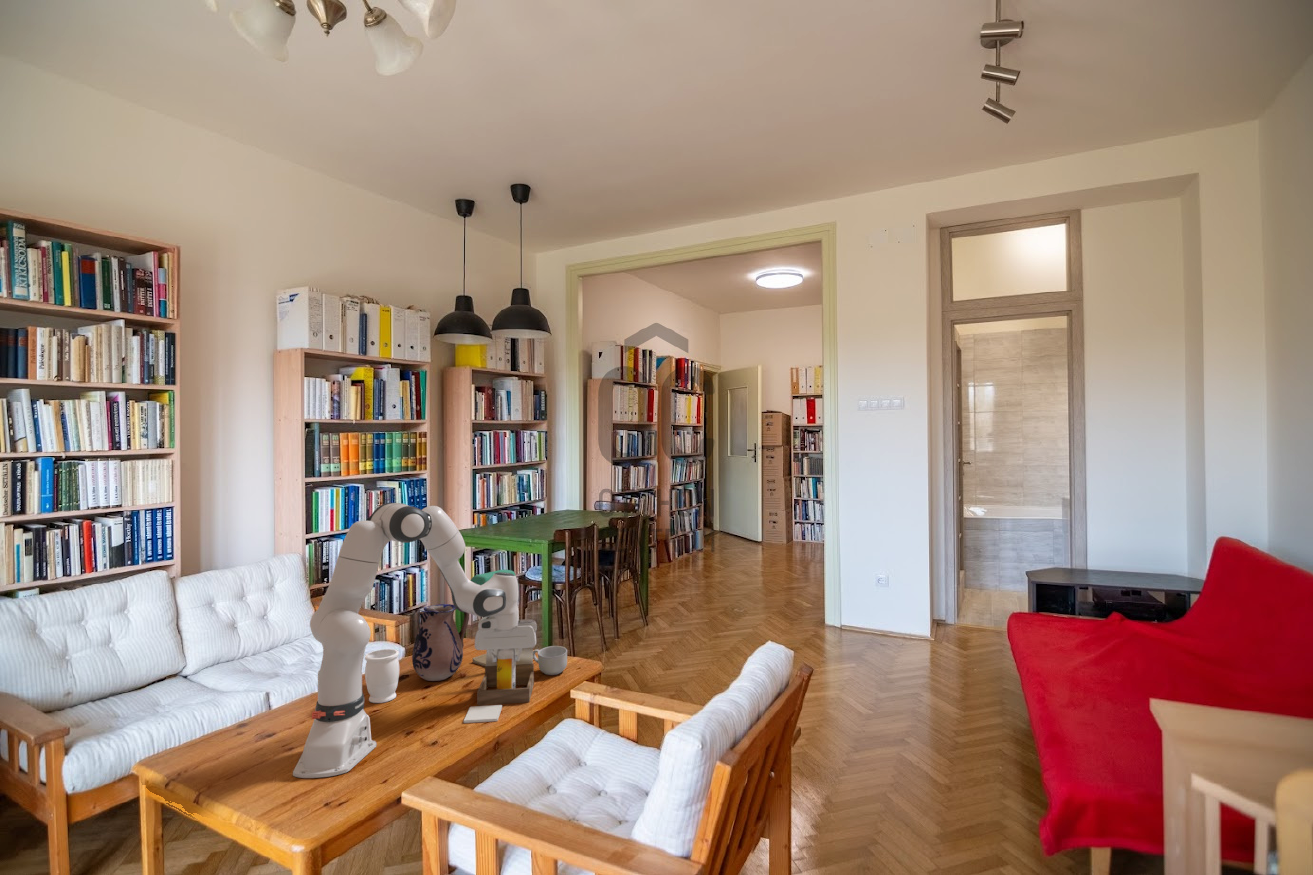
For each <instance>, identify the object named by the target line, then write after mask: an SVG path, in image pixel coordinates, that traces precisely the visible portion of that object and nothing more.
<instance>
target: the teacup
mask: <svg viewBox="0 0 1313 875" xmlns="http://www.w3.org/2000/svg"><path fill="white" fill-rule="evenodd" d="M536 654H537V656H536ZM533 661H534V662H536V663H537V664H538V668H539V670H540V671H541V673H543V674H545V675H546V676H556V675H559V674H562V672H563V671H564V670H565V669H566V668H567V666H568V649H567V648H566V647H564V646H562V645H561V646H560V645H551V646H546V647H543V648H541V649H533Z"/></svg>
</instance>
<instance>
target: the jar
mask: <svg viewBox="0 0 1313 875" xmlns="http://www.w3.org/2000/svg"><path fill="white" fill-rule="evenodd" d="M399 655H400V651H399V650H398V649H394V648H386V649H378V650H373V651H371V652H369V653H366V654H364V659H365V661H366V663H365V666H364V677H365V678H364V680H365V684H366V689H367V692H368V694H369V695H370V696H369V698H368V702H370V703H372V704H383V703H387V702H388V703H389V702H390V701H393V700H394V699H396V697H397V693H396V690H397V688H398V685H399V684H398V683H399V677H400V662H399V661H400V660H399V658H398V657H399Z"/></svg>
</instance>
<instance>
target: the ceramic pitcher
mask: <svg viewBox="0 0 1313 875" xmlns="http://www.w3.org/2000/svg"><path fill="white" fill-rule="evenodd" d="M422 609H423V610H421V611H419V612H418V614H419V620H420V621H419V626H418V628H417V633H416V636H415V638H414V639H415V640H414V644H413V647H412V653H411V660H412V665H413V669H414V672H415V673H416V674H417V675H418V676H419V677H420V678H422V679H423V680H425V681H429V682H436V681H437V682H438V681H439V682H440V681H445V680H447V679H448V678H450V677H451V676H453V675H454V674H455V673H456V672H457V671H458V670H459V668H460V666H462V662H463V658H464V646H465V645H464V638H465V636H466V631H467V628H468V625H469V621H470V613H466V612H463V613H464V617H463V622H462V626H461V629H460V631H459V630H458V628H457V625H456V622H455V619H454V614H455V611H456V610H457V609H456V608H455V606H454V604H451V603H449V604H448V603H440V604H439V603H438V604H433V605H432V604H431V605H428V606H425V607H423V608H422Z"/></svg>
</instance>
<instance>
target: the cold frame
mask: <svg viewBox="0 0 1313 875" xmlns="http://www.w3.org/2000/svg"><path fill="white" fill-rule="evenodd" d="M515 650H516V655H518V653H519V651H518V648H515ZM497 651H498V649H494V651H493V653H494V655H495V656H497ZM533 651H534V647H533V648H523V650H522V652H521V654H520V660H519V661H516V664H515V686H526V687H517V688H516V687H515V688H513V689H497V688H496V689H488V688H493V687H497V662H494V663H492V657H491V655H490V654H489V650H486V652H485V654H486V666H485V667H484V676H483V678H482V680H481V682H480V684H479V686H478V688H477V691H476V694H477V697H476V703H477V704H476V705H477V706H488V705H502V704H503V705H505V704H519V703H521V704H522V703H530V700H531V697H532V693H533V688H534V685H535V677H534V676H535V674H534V671H535V670H534V669H535V668H534V666H535V665H534V662H533V661H534V659H533Z"/></svg>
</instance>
